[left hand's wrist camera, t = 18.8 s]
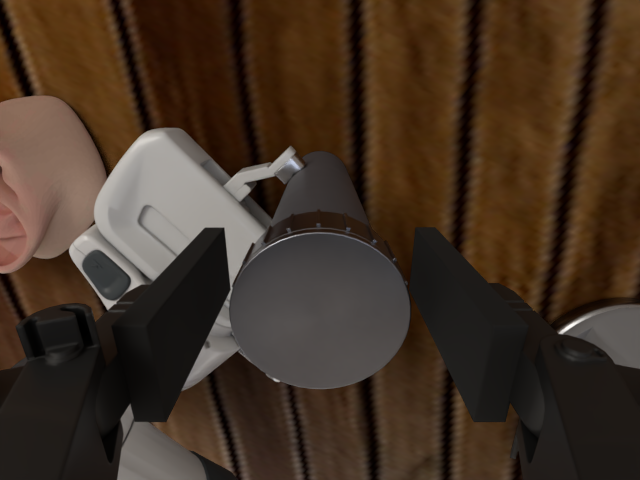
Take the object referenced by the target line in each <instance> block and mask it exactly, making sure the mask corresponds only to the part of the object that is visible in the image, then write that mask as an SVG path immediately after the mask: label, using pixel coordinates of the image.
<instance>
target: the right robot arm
mask: <svg viewBox="0 0 640 480" xmlns="http://www.w3.org/2000/svg"><path fill="white" fill-rule="evenodd" d="M305 165H306V162H305V161H304V160H303V158H302V157H301V156H300V155H299V154H298V153H297V152H296V150H295V149H294V148H293V147H292V146H290V147H289V148H288V149H287V150H286V151H285V152H284V153H283V154H281V155H280V156H279V157H278V158H277V159H276V160H275V161H274V162H273V163H271V162H270V163H265V164H261V165H256V166H252V167H247V168H243V169H242V170H240V171H239V172H238V173H237V174H236V175H235V176H233V177H232V178H231V177H230V176H229V175H228V174H227V173H226V172H225V171H224V170H223V169H222V168H221V167H220V166H219V165H218V164H217V163H216V162H215V161H214V160H213V159H212V158H211V157H210V156H209V155H208V154H207V153H206V152H205V151H204V150H203V149H202V148H201V147H200V146H199V145H198V144H197V143H196V142H195V141H194V140H193V139H192V138H191V137H190V136H189V135H188V134H187V133H186V132H185V131H184V130H182V129H179V128H158V129H153V130H150V131H147V132H145V133H144V134H142V135H141V136H140V137H139V138H138V139H137V140H136V141H135V142H134V143H133V144H132V146H131V147H130V148H129V149H128V150H127V152H126V153H125V154H124V156H123V157H122V158H121V160H120V161H119V162H118V164H117V165H116V167H115V168H114V170H113V171H112V173H111V174H110V176H109V177H108V179H107V180H106V182H105V184H104V185H103V187H102V189H101V190H100V192H99V194H98V196H97V199H96V202H95V206H94V219H95V223H96V224H95V225H93V226H92V227H90V228H89V229H88V230H86V231H85V232H84V233H83V234H81V235H80V236H79V237H78V238H77V239H76V240H75V241H74V242H73V243H72V244H71V246H70V248H69V254H70V256H71V258H72V260H73V262H74V263H75V265H76V266H77V267H78V269H79V270H80V271H81V272H82V274H83V275H84V276H85V278H86V279H87V280H88V282H89V283H90V284H91V286H92V287H93V289H94V290H95V291H96V293H97V294H98V296H99V297H100V299H101V300H102V302H103V303H104V305H105V307H106V308H107V310H109V309H110V308H111V307H112V306H113V305H114V304H116V302H117V301H118V300H119V299H120V298H121V297H122V296H123V295H124V294H125V293H126V292H128V291H130V290H132V289H134V288H136V287H138V286H139V285H141V284H151V283H152V282H153V281H154V280H155V279H156V278H157V277H158V276H159V275H160V274H161V273H162V272H163V271H164V270H165V269H166V268H167V267H168V266H169V265H170V264H171V262H172V261H173V260H174V259H175V258H176V257H177V256H178V255H179V254H180V253H181V252H182V251H183V250H184V249H185V248H186V247H187V246H188V245H189V244H190V243H191V242H192V240H193V239H194V238H195V237H196V236H197V235H198V234H199V233H200V232H201V231H202V230H203V229H204V228H205V227H224V228H225V238H226V248H227V258H228V268H229V278H230V288H231V290H230V292H229V294H228V296H227V298H226V300H225V302H224V305H223V307H222V309H221V311H220V313H219V315H218V317H217V319H216V321H215V323H214V325H213V327H212V329H211V331H210V333H209V335H208V337H207V339H206V341H205V343H204V345H203V348H202V350H201V352H200V354H199V356H198V358H197V360H196V362H195V364H194V366H193V368H192V370H191V372H190V374H189V376H188V378H187V380H186V382H185V384H184V386H183V388H182V391H183V390H186V389H188V388H190V387H192V386H194V385H195V384H197V383H198V382H200V381H201V380H202V379H203V378H204V377H206V376H207V375H208V374H209V373H211V372H212V371H213V370H214V369H216V368H217V367H218V366H219V365H221V364H222V363H223V362H224V361H226V360H227V359H228V358H229V357H231V356H232V355H233V354H234V353H235V352H238V353H240V354H241V355H242V356H243V357H245V358H246V359H247V360H248V361H249V362H251V361H250V360H249V359H248V358H247V357H246V355H245V354H244V353H243V351H242V350H241V348H240V347H239V345H238V343H237V341H236V339H235V337H234V334H233V331H232V328H231V323H230V317H229V304H230V297H231V293H232V289H233V287H232V284H233V282H234V280H235V278H236V276H237V274H238V272H239V270H240V268H241V266H242V262H243V260H244V258H245V256H246V254H247V252H248V250H249V248H250V246H251V244H252V243H254V244H255V242H256V241H257V240H258V239H259V238H260V237H261V235H262V234H263V233H265V232H266V230H267V227H268V226H269V225H270V224H271V222H272V220H273V219H272V218H271V217H270V216H269V215H268V214H267V213H266V212H265V211H264V210H263V209H262V208H261V207H260V206H259V205H258V204H257V203H256V202H255V201H254V200H253V199H252V198H251V197H250V196H249V195H248V194H249V193H250V192H251V190H252V189H253V188H254V187H255V186H256V182H255V181H256V180H260V179H264V178H269V177H273V176H277V177H278V178H279V179H280V180H281V181H282V182H283V183H284V184H286V183H287V182H288V181H290V180H291V178H292V177H293V175H294V173H298V172H299V171H300V170H301V169H302V168H303V167H304V166H305ZM26 362H27V357H25V358H24V359H22V360H21V361H20V362H18V363H17V364H16V365H14V366H13V367H12V368H16V367H21V366H25V364H26ZM251 363H252V362H251ZM252 364H253V363H252ZM265 375H266V376H267V377H269V378H270V379H271V380H273V381H275V382H280V381H279V380H277V379H275V378H273V377H271V376H269V375H268V374H266V373H265ZM121 422H122V426H123V433H124V435H123V442H122V449H121V456H120V463H119V471H118V478H117V480H237V479H236V477H235V476H234V475H233V473H232V472H230V471H229V470H227V469H225V468H223V467H221V466H219V465H218V464H216V463H214V462H212V461H210V460H208V459H206V458H205V457H203V456H201V455H199V454H197V453H196V452H194V451H189V450H187V449H186V448H184V447H183V446H181V445H180V444H179V443H177V442H176V441H174V440H173V439H171V438H170V437H169V436H167V435H166V434H164V433H163V432H162V431H160V430H159V429H157V428H156V427H154V426H153V425H152V424H150V423H149V422H135V421H134V417H133V413H132V409H131V405H129V406H128V408H127V409H126V411H125V413H124V414H123V416H122V417H121Z"/></svg>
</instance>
